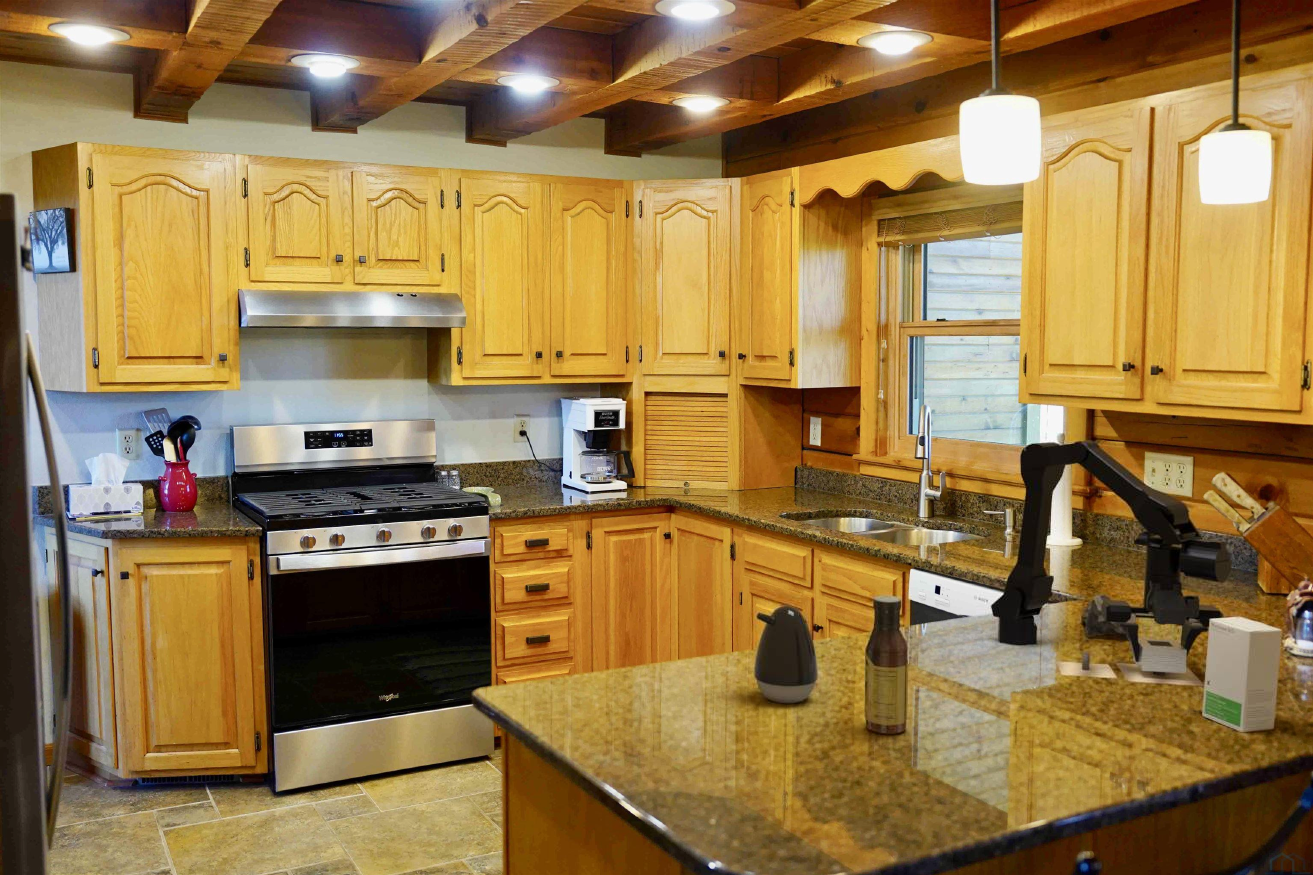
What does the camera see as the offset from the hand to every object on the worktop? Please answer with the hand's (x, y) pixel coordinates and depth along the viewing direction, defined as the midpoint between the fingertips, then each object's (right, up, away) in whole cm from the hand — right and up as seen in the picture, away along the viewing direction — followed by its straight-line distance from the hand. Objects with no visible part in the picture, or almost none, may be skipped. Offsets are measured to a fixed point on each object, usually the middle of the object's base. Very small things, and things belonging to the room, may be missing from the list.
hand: (1158, 662), depth 200 cm
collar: (0, -1, 0) cm, 1 cm away
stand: (-12, -3, +3) cm, 12 cm away
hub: (0, -3, 0) cm, 3 cm away
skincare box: (+2, -5, -23) cm, 23 cm away
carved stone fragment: (+4, -1, +33) cm, 33 cm away
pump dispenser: (-66, -4, -13) cm, 67 cm away
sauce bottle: (-53, -5, -28) cm, 60 cm away
